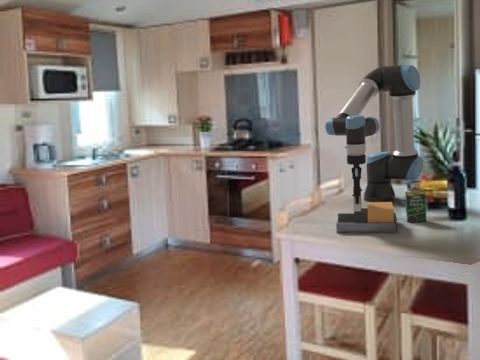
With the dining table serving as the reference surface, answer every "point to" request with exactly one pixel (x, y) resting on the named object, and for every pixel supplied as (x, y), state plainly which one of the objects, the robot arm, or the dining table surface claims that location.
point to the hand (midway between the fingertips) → (357, 209)
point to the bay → (364, 225)
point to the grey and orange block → (376, 211)
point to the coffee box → (415, 206)
